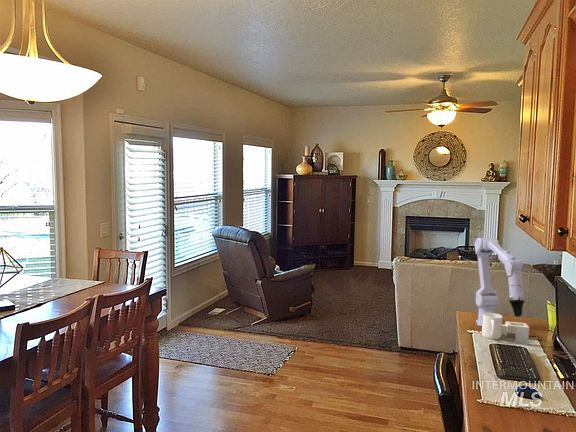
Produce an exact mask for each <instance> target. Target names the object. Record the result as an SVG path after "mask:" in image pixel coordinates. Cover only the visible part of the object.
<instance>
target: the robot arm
mask: <svg viewBox="0 0 576 432" xmlns="http://www.w3.org/2000/svg"><path fill="white" fill-rule="evenodd" d="M474 251H475V255H477V263H478V274H479V283H480V288H479V289H478V290H476V292H475V304H476V306H477V308H478V316H477V319H475V322H476V324H477V326H478V327H482V324H483V314H484V313H495V309H496V308H498V306H499V304H500V298H499V297H498V292H497V291H496V290H495V289H494V288H493V287H492V276H491V269H490V268H491V267H490V257H491V255H493V254H496V255H497V259H498V261H500V263H502V265H504V269H505V272H506V276H507V279H508V280H507V282H508V291H509V292H508V293H509V296H508V298H513V299H512V300H509V304H510V305H511V308H512V311H513V314H514V317H518V318H519V317H522V314H523V306H524V304H525V301H526V300H525V299H524V300H521V299H522V298H527V295H525V294H524V285H523V271H524V269H525V263H524V261H523V260H522V259H521V258H519V259H518V258H517V257H515V256H514V255H513V254H512V253H511V252H510V251H509V250H504V249H503V247H502V246H501V245H500V241H499V240H498V239H497V238H496V237H477V238H476V239H475V242H474Z"/></svg>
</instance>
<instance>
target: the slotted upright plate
mask: <svg viewBox="0 0 576 432" xmlns="http://www.w3.org/2000/svg"><path fill="white" fill-rule="evenodd" d="M516 327H519V328H528V329H529V330H530V326H529V325H528V324H527V323H525V322H515V321H507V320H506V321H505V323H504V324H503V323H502V330H501V336H506V337H507V338H514V339H515V332H516ZM529 337H530V336H529V335H528V340H529Z"/></svg>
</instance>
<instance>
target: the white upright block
mask: <svg viewBox="0 0 576 432" xmlns="http://www.w3.org/2000/svg"><path fill="white" fill-rule="evenodd" d="M529 334H530V328H529V329H528V328H519V327H516V332H515V338H514V344H515V345H524V346H528V345H529V339H528V335H529Z"/></svg>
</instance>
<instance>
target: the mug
mask: <svg viewBox="0 0 576 432" xmlns="http://www.w3.org/2000/svg"><path fill="white" fill-rule="evenodd" d="M502 324H503V315H501V314H499V313H495V312H494V313H484V314H483V324H482V326H481V336H482V337H483V336H484V338H486V339H488V340H500V339H501V337H502V335H501V330H502Z"/></svg>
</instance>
